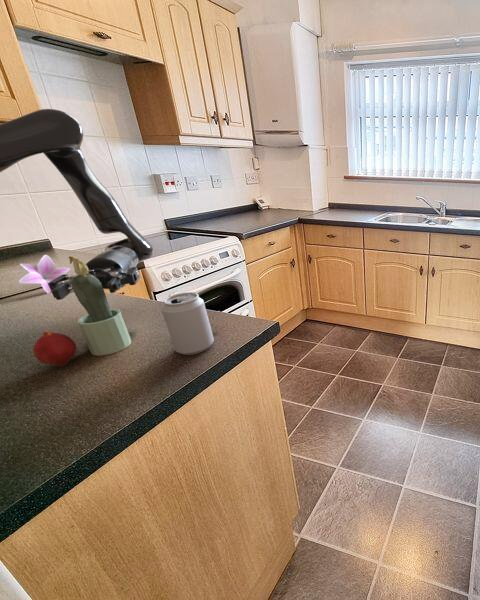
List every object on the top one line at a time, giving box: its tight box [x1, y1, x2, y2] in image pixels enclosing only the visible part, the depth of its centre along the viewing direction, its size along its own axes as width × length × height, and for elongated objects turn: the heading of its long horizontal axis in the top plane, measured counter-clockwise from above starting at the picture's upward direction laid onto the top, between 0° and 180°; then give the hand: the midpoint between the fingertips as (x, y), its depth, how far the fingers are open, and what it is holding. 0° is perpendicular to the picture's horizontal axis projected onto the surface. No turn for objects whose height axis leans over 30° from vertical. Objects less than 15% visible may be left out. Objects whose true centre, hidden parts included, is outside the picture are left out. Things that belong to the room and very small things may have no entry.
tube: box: [76, 308, 132, 357], centre depth 72 cm, size 7×7×8 cm
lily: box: [18, 254, 71, 294], centre depth 104 cm, size 12×12×10 cm
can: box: [161, 291, 215, 356], centre depth 71 cm, size 8×8×12 cm
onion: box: [32, 329, 77, 367], centre depth 66 cm, size 6×6×8 cm
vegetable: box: [68, 255, 113, 323], centre depth 70 cm, size 4×4×20 cm
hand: (84, 291), depth 67 cm, fingers open, 8 cm apart
